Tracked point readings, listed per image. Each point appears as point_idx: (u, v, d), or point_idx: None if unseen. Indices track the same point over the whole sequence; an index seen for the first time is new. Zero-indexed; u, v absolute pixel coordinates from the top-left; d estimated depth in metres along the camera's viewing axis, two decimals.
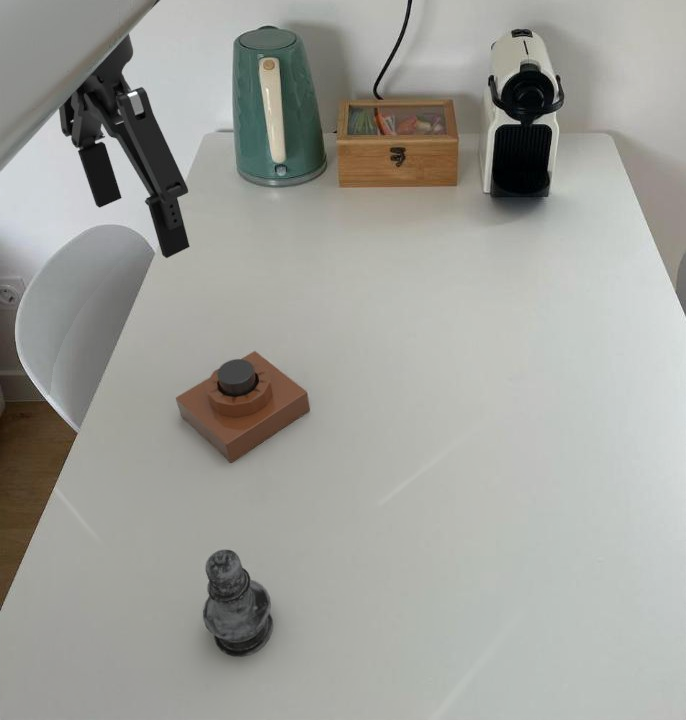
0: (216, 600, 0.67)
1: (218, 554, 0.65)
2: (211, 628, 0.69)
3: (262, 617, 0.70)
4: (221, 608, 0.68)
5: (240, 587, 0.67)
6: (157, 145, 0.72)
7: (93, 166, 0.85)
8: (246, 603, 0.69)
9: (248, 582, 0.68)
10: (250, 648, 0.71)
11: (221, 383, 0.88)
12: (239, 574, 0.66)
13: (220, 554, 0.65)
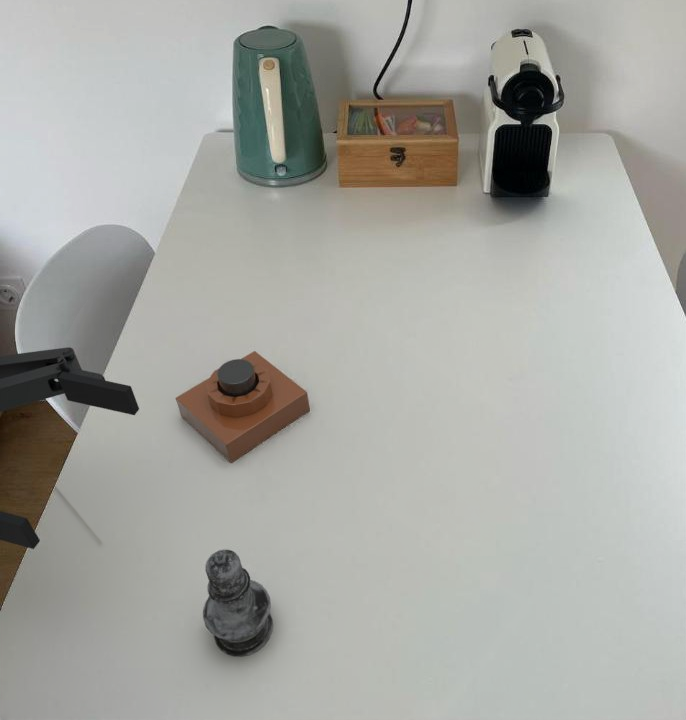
0: (216, 600, 0.67)
1: (218, 554, 0.65)
2: (211, 628, 0.69)
3: (262, 617, 0.70)
4: (221, 608, 0.68)
5: (240, 587, 0.67)
6: None
7: None
8: (246, 603, 0.69)
9: (248, 582, 0.68)
10: (250, 648, 0.71)
11: (221, 383, 0.88)
12: (239, 574, 0.66)
13: (220, 554, 0.65)
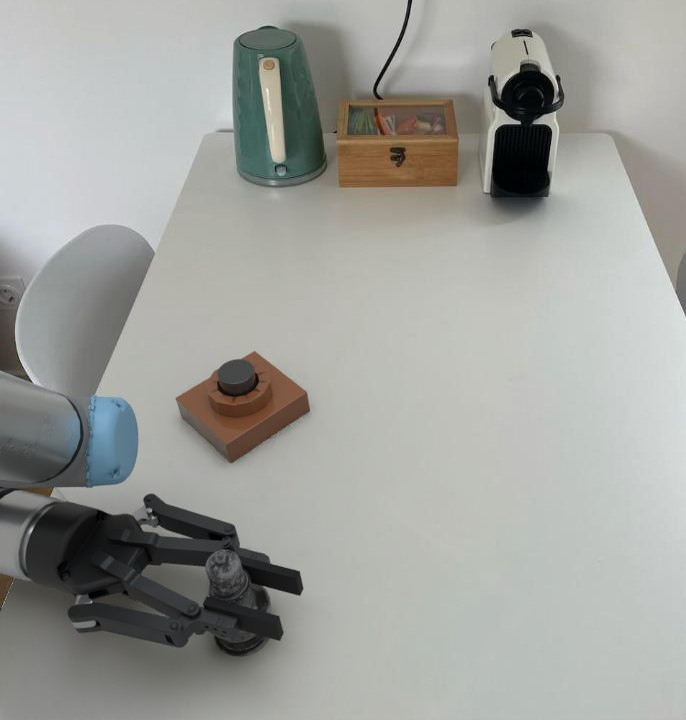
0: None
1: (218, 554, 0.65)
2: None
3: None
4: None
5: (240, 587, 0.67)
6: None
7: None
8: (246, 603, 0.69)
9: (248, 582, 0.68)
10: (250, 648, 0.71)
11: (221, 383, 0.88)
12: (239, 574, 0.66)
13: (220, 554, 0.65)
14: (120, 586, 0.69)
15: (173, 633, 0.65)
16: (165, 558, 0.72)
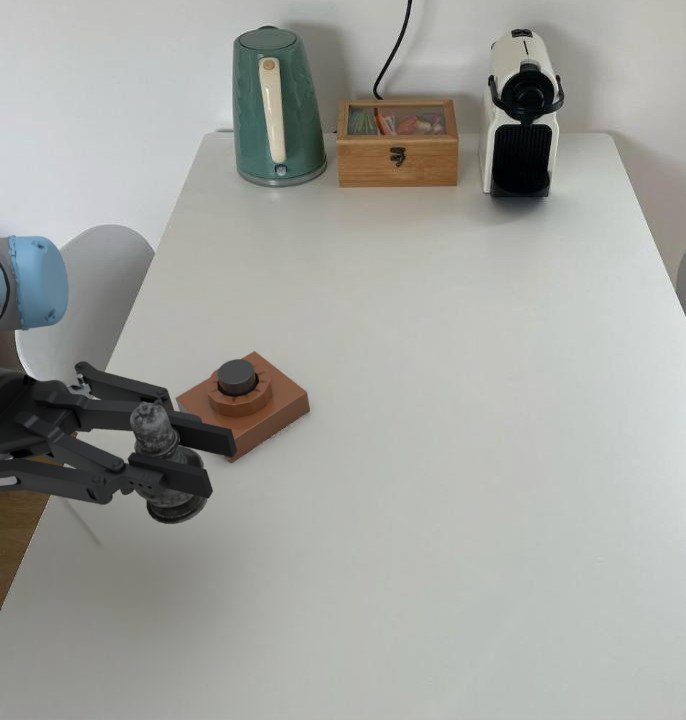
0: None
1: (142, 404, 0.62)
2: (140, 490, 0.66)
3: None
4: None
5: (167, 443, 0.64)
6: None
7: None
8: None
9: (177, 440, 0.65)
10: (183, 515, 0.68)
11: (221, 383, 0.88)
12: (165, 427, 0.63)
13: (144, 404, 0.62)
14: (44, 446, 0.66)
15: (94, 486, 0.62)
16: (94, 422, 0.69)
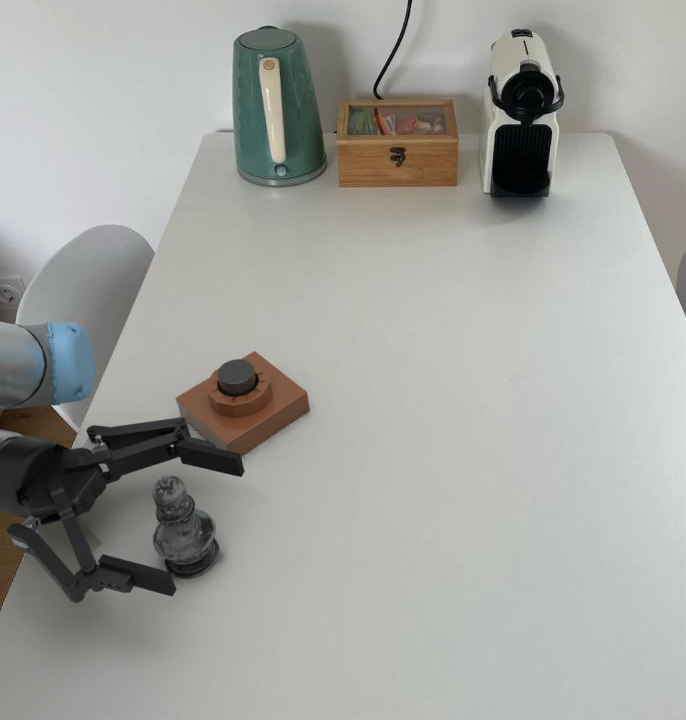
0: (162, 522, 0.73)
1: (163, 478, 0.71)
2: (159, 550, 0.75)
3: (207, 541, 0.76)
4: (168, 531, 0.74)
5: (184, 510, 0.73)
6: None
7: None
8: (191, 527, 0.75)
9: (193, 507, 0.74)
10: (197, 571, 0.77)
11: (221, 383, 0.88)
12: (183, 497, 0.72)
13: (165, 478, 0.71)
14: (74, 510, 0.75)
15: (64, 587, 0.68)
16: (124, 469, 0.79)
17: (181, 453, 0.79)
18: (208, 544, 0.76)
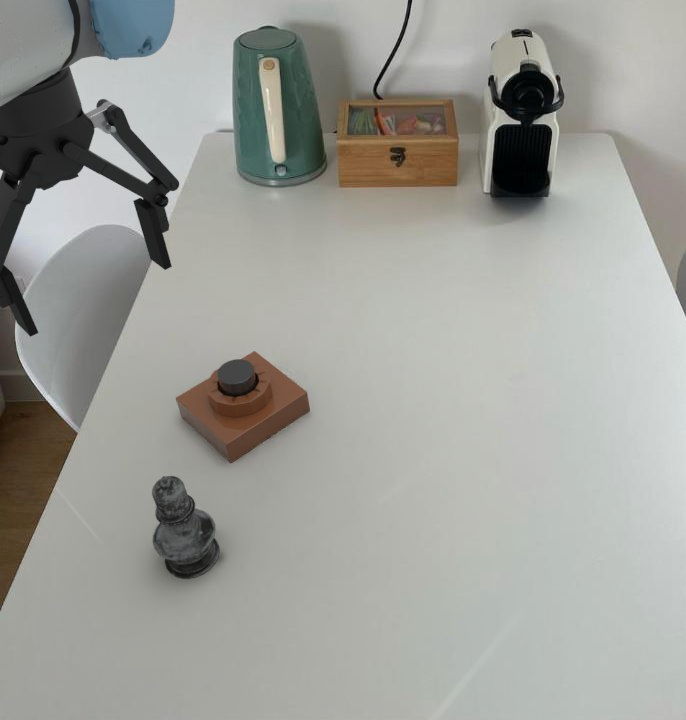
0: (162, 522, 0.73)
1: (163, 478, 0.71)
2: (159, 550, 0.75)
3: (207, 541, 0.76)
4: (168, 531, 0.74)
5: (184, 510, 0.73)
6: None
7: None
8: (191, 527, 0.75)
9: (193, 507, 0.74)
10: (197, 571, 0.77)
11: (221, 383, 0.88)
12: (183, 498, 0.72)
13: (165, 478, 0.71)
14: None
15: None
16: None
17: (143, 210, 0.74)
18: (208, 544, 0.76)
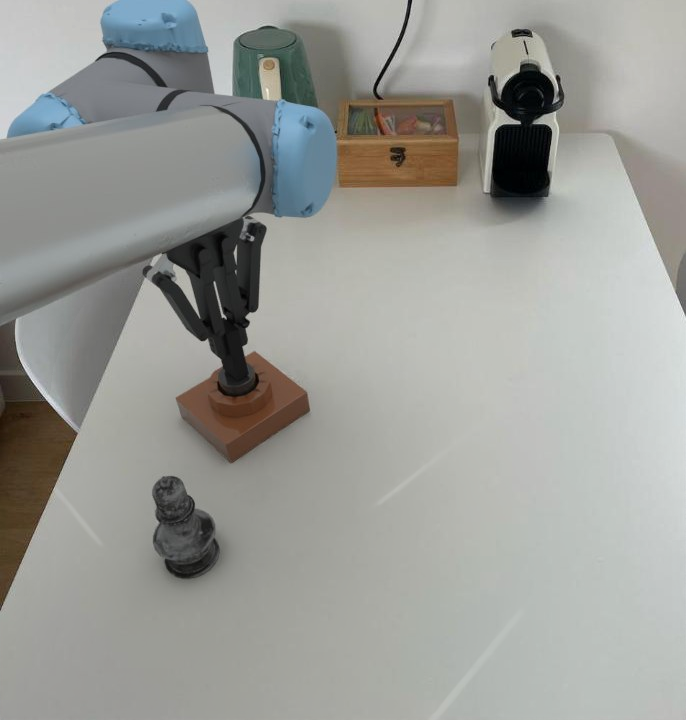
0: (162, 522, 0.73)
1: (163, 478, 0.71)
2: (159, 550, 0.75)
3: (207, 541, 0.76)
4: (168, 531, 0.74)
5: (184, 510, 0.73)
6: None
7: None
8: (191, 527, 0.75)
9: (193, 507, 0.74)
10: (197, 571, 0.77)
11: (222, 385, 0.88)
12: (183, 497, 0.72)
13: (165, 478, 0.71)
14: None
15: None
16: (216, 272, 0.80)
17: None
18: (208, 544, 0.76)
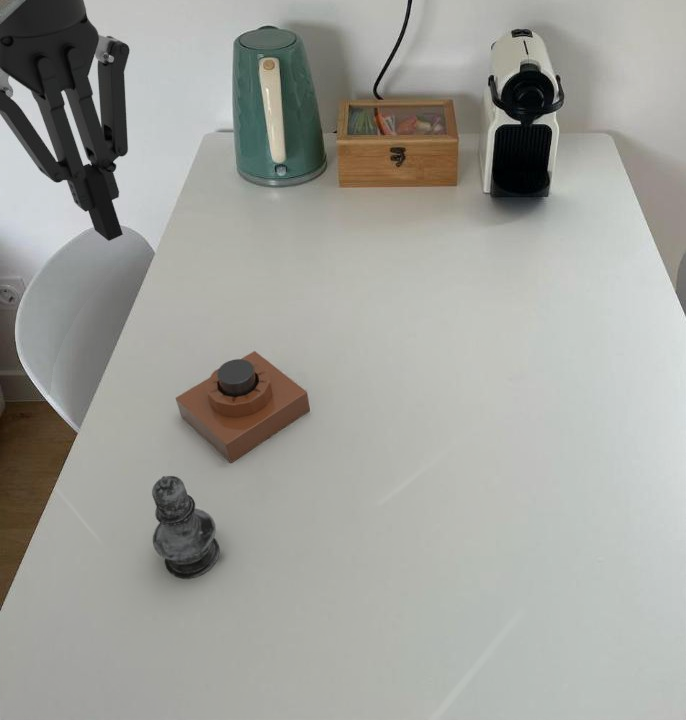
0: (162, 522, 0.73)
1: (163, 478, 0.71)
2: (159, 550, 0.75)
3: (207, 541, 0.76)
4: (168, 531, 0.74)
5: (184, 510, 0.73)
6: None
7: None
8: (191, 527, 0.75)
9: (193, 507, 0.74)
10: (197, 571, 0.77)
11: (221, 383, 0.88)
12: (183, 497, 0.72)
13: (165, 478, 0.71)
14: None
15: (53, 180, 0.70)
16: (71, 100, 0.69)
17: None
18: (208, 544, 0.76)
